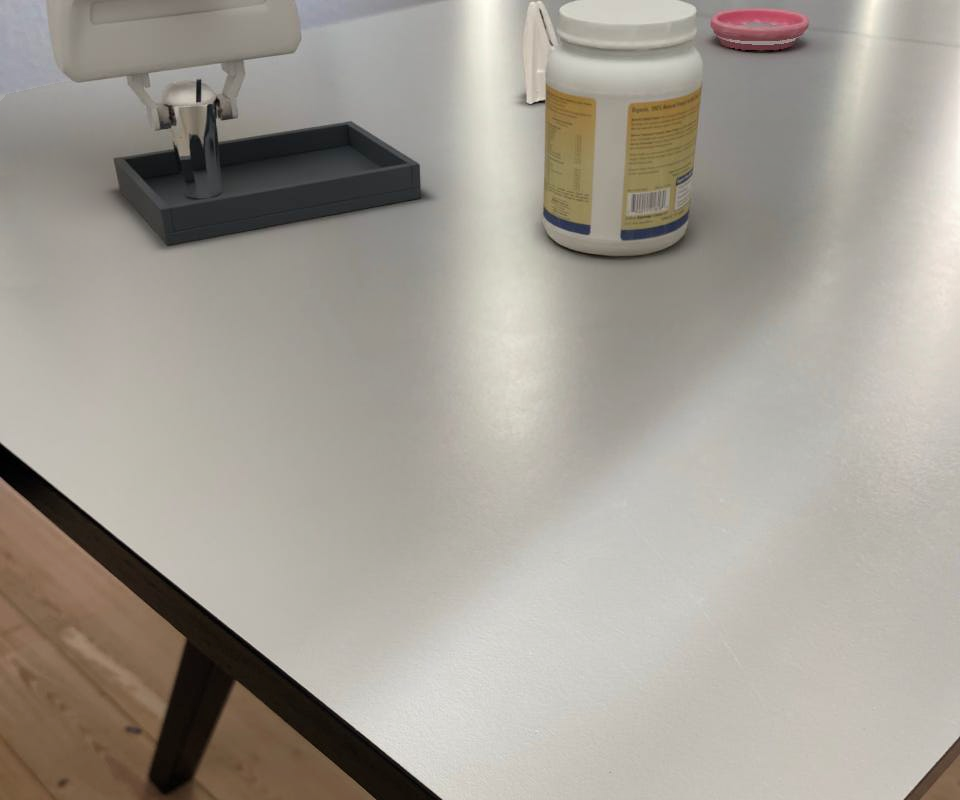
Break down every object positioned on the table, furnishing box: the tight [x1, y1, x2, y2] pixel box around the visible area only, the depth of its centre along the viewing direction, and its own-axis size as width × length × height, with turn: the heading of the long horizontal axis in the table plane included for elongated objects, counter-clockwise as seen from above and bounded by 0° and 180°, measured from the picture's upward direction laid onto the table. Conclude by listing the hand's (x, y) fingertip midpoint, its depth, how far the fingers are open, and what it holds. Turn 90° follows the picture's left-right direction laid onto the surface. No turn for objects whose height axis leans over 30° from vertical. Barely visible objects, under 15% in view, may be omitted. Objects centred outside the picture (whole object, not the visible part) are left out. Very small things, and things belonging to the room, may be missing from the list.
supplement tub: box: [542, 0, 704, 257], centre depth 89 cm, size 12×12×17 cm
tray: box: [112, 120, 422, 246], centre depth 102 cm, size 24×16×3 cm, turn 118°
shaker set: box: [522, 0, 559, 105], centre depth 125 cm, size 12×4×11 cm, turn 108°
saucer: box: [710, 8, 810, 51], centre depth 145 cm, size 12×12×3 cm
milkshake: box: [160, 78, 221, 199], centre depth 97 cm, size 5×5×10 cm
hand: (194, 123), depth 96 cm, fingers closed on milkshake, 4 cm apart
